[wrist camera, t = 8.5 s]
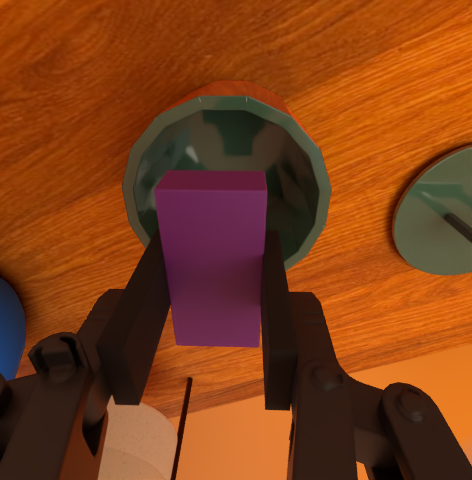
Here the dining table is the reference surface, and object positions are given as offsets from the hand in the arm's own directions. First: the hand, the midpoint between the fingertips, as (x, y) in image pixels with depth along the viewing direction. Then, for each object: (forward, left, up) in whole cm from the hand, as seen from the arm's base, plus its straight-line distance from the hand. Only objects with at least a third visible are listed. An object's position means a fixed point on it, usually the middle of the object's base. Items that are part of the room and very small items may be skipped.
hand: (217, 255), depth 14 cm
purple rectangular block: (0, 0, 0) cm, 0 cm away
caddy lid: (+5, +22, -15) cm, 27 cm away
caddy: (0, 0, -16) cm, 16 cm away
